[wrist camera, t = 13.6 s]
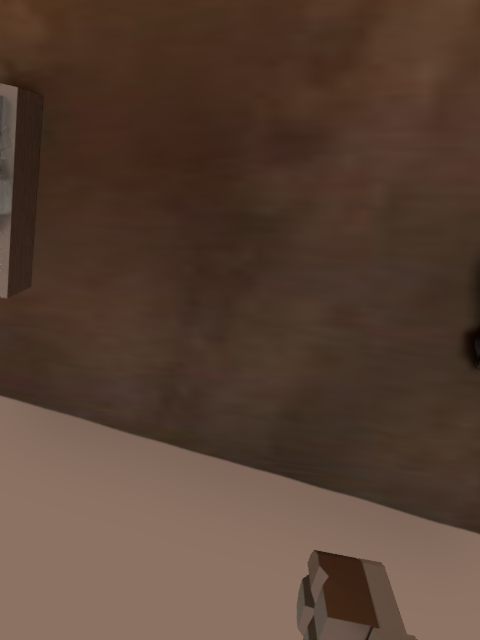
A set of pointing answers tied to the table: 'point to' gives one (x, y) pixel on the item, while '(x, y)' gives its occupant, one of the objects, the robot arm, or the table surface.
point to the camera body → (18, 185)
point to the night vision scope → (479, 350)
